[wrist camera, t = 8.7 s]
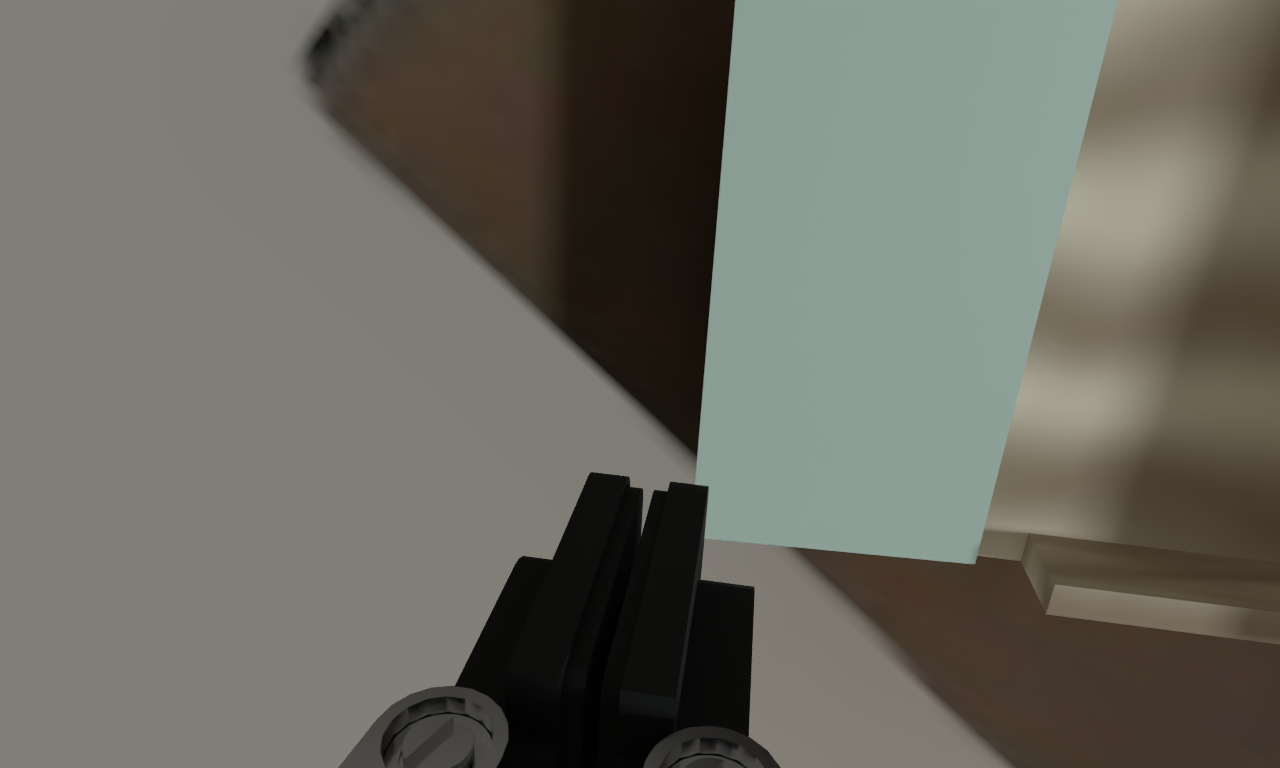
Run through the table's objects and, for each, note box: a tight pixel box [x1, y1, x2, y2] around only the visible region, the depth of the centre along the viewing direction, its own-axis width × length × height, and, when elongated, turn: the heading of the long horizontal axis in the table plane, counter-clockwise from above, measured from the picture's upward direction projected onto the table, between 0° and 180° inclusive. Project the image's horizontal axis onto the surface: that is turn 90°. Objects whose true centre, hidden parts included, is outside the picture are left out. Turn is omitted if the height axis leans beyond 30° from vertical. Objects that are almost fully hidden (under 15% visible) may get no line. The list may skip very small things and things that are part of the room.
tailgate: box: [695, 0, 1118, 564], centre depth 26 cm, size 19×2×10 cm
